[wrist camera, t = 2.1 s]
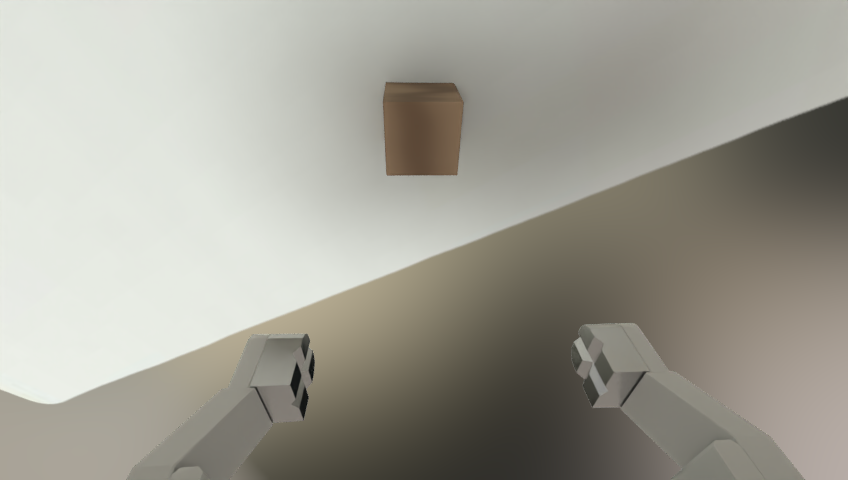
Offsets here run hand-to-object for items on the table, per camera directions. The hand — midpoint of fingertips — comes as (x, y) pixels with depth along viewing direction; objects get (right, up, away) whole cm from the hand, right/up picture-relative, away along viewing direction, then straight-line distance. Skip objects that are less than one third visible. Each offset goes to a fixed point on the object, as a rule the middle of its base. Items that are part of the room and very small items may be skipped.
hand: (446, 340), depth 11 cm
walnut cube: (-1, +13, +17) cm, 21 cm away
